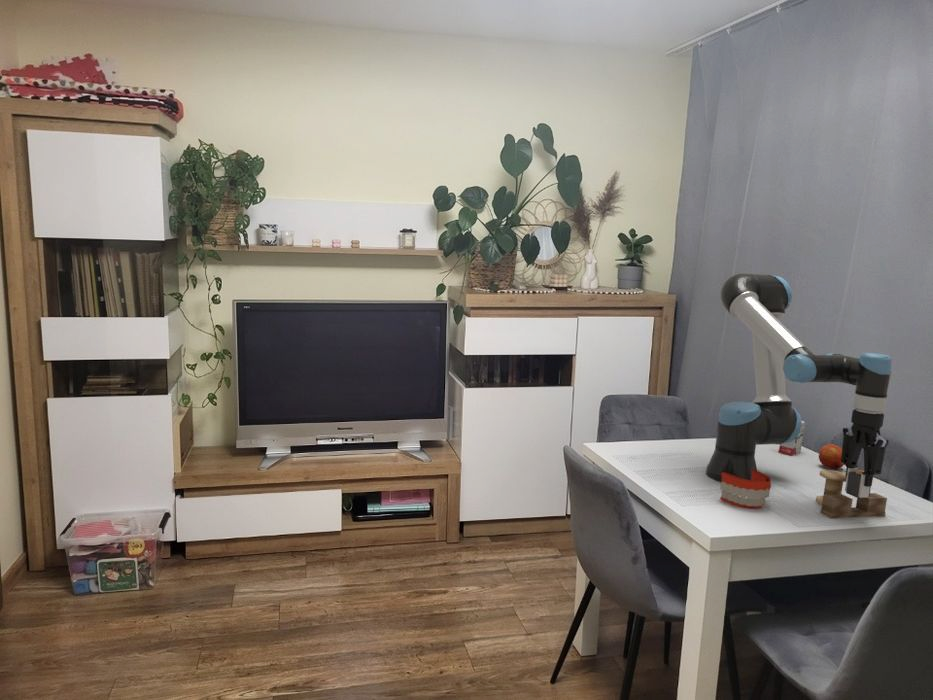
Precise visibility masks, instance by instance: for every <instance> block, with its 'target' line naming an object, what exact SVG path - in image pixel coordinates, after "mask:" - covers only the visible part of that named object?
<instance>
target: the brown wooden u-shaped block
mask: <svg viewBox="0 0 933 700" xmlns="http://www.w3.org/2000/svg"><path fill="white" fill-rule="evenodd" d="M822 496H823V502H822V505H821V508H820V511H819V513H820V514H821V515H824V516H826V517H828V518H829V519H846V518H847V519H850V518H852V519H853V518H868V517H869V518H871V517H873V518H874V516H876V517H886V507H887V502H888V498H887V497H886V496H883V495H881V494H879V493H877V492H872V493H871V492H870V497H865V498H856V503H855V507H853V501H854V500H853V498H851V497H849V496H846V495H844V494H842V493H841V494H829V495H824V494H823V495H822Z"/></svg>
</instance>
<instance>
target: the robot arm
mask: <svg viewBox="0 0 933 700" xmlns="http://www.w3.org/2000/svg"><path fill="white" fill-rule="evenodd" d="M720 300H721V303H722V306H723V307H724V309H726V311H727V312H728V313H729V314H730V315H731V316H732V317H733V318H734V319H736V318H737V319H739V320H740V321H741V322H743V324H744V325H745V326H746V327H748V329H749V330H750V331H751V334H752V349H753V361H754V365H753V366H754V375H755V380H754V381H755V391H756V392H755V393H756V396H755V398H754V399H753V401H751V402H749V401H731V402H727V403H725V404H723V405H722V406H721V407H720V409H719V415H718V417H717V419H718V420H717V429H716V431H717V432H716V437H715V444H714V445H715V446H714V452H713V453H712V455H711V458H710V460H709V462H708V464H707V466H706V471H705V474H706V475H707V476H708V477H709V478H711V479H713V480H716V481H717V482H718V481H719V482H721V481H722V472H726V473H729V474H731V475H734V476H736V477H739V478H742V479H747V480H751V477H752V472H751V470H752V469H753V470H756V471H758V468H757V463H756V458H755V457H756V456H755V455H756V448H757V447H756V446H758V445H759V446H760V445H761V446H762V445H780V444H783V443H789V442H792V441H793V440H794V439H795V438H796V437H797V436H798V435H799V433H800V430H801V426H802V421H803V420H802V416H801V414H800V413H799V412H798V410H797V409H796V408H795V407H793V404H792V403H793V402H792V400H791V399H790V398H789V397H788V395H786V394H787V393H786V380H785V379H788V380H789V381H790V382H795V383H801V384H803V383H805V384H806V383H843V384H847V385H852V386H855V392H854V399H853V405H852V406H853V409H852V411H851V412H852V413H851V420H850V422H851V423H852V424H851V427H843V428H842V433H843V437H842V447H841V448H842V456H841V462H842V463H844V465H845V467H846V470H845V474H846V475H845V477H846V478H847V479H846V482H845V489H844V491H845V492H846V489H847V481H848V473H849V472H856V470H859V468H858V461H859V458H860V455H861V452H862V450H863V471H864V472H862V473H861V480H860V487H859V494H858V497H860V498H863V497H868V496H869V490H870V491H871V489H870V487H871V488H872V485H873V481H874V476H875V475H876V476H877V475H881V474H882V469H883V464H884V458H885V453H886V449H887V446H888V445H889V441H890V440H889V439H884V438H883V437H882V436H881V428H882V427H883V426H884V420H885V419H884V418H885V413H883V412H885V411H886V405H887V399H888V398H887V397H888V389H889V386H890V385H889V384H890V379H891V374H892V362H893V361H892V357H890V356H889V355H887V354H883V353H877V352H876V353H873V352H862V353H861V354H860V356H859V358H858V357H854V356H848V355H844V354H841V353H832V352H831V353H827V354H825V355H824V354H815V353H813V351H811V350H810V349H809V348H807V346H806V345H804V344H803V342H802V341H801V340H799V338H797V336H795V335H794V334H793V332H791V331H790V329H788V327H786V326H785V324H783V323H782V322H781V320H782V319H783V318H784V317H785V316H786V310H787V309H788V308H789V307H790V303H792V300H793V292H792V288H791V286H790V284H789V282H788V281H787V280H785V279H784V278H783V277H781V276H777V275H773V274H756V273H755V274H754V273H753V274H752V273H737V274H733V275H731V276H730V277H728V278H727V279H726V280H725V282H723V285H722V287H721V290H720Z"/></svg>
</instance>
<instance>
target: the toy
mask: <svg viewBox="0 0 933 700" xmlns="http://www.w3.org/2000/svg"><path fill="white" fill-rule="evenodd" d="M751 472H752V477H751V480H747V479H742V478H739V477H736V476H734V475H731V474H729V473H726V472H722V481H720V482H721V485H720V490H721V496H720V498H719V500H720V501H723V502H725V503H727V504H730V505H733V506H735V507H739V508H745V509H760V508H763V507H765V504H766V499H768V498H769V497H770V490H771V488H772V482H771V477H770V476H769V475H766V474H764V473H763V472H761V471H759V470H757V471H756V470H753V469H752V470H751Z"/></svg>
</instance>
